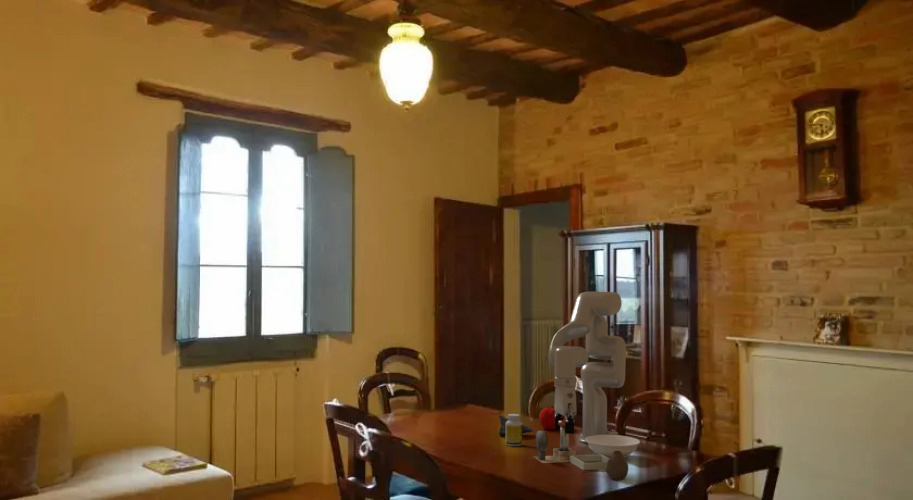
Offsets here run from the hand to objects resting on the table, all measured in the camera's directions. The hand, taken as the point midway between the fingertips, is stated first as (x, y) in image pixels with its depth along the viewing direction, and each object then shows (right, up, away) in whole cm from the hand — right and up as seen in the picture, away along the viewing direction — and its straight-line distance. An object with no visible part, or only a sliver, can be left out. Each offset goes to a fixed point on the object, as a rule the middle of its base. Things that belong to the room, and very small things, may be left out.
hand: (564, 431), depth 277 cm
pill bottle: (-16, -12, +27) cm, 33 cm away
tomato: (+3, -14, +62) cm, 63 cm away
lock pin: (0, -10, 0) cm, 10 cm away
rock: (-14, -13, +46) cm, 50 cm away
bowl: (+19, -12, +8) cm, 23 cm away
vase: (+14, -10, -23) cm, 29 cm away
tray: (+9, -11, -9) cm, 16 cm away
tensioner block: (-3, -11, -1) cm, 11 cm away
